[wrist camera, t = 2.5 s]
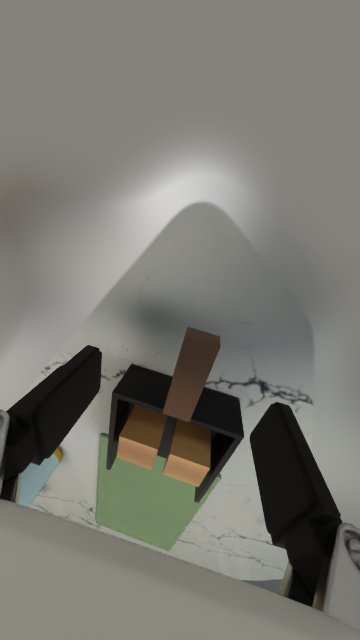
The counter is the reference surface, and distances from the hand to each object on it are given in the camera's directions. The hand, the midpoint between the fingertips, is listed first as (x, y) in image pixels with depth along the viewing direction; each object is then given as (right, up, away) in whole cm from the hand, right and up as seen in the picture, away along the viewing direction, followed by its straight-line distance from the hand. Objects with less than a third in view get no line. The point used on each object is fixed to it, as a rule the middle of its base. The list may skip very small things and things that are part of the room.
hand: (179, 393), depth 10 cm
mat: (-7, -31, +24) cm, 39 cm away
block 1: (-4, -8, +12) cm, 15 cm away
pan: (0, -5, +11) cm, 12 cm away
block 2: (+1, -9, +12) cm, 15 cm away
